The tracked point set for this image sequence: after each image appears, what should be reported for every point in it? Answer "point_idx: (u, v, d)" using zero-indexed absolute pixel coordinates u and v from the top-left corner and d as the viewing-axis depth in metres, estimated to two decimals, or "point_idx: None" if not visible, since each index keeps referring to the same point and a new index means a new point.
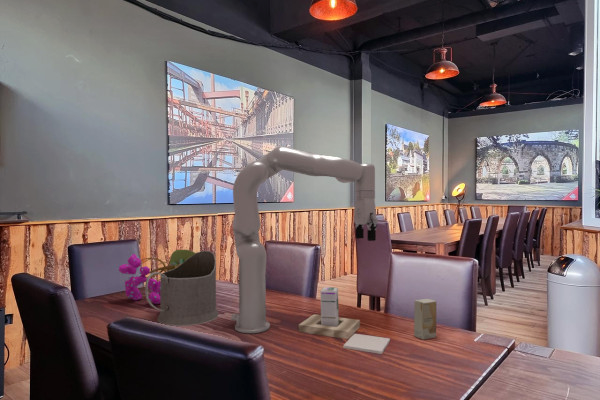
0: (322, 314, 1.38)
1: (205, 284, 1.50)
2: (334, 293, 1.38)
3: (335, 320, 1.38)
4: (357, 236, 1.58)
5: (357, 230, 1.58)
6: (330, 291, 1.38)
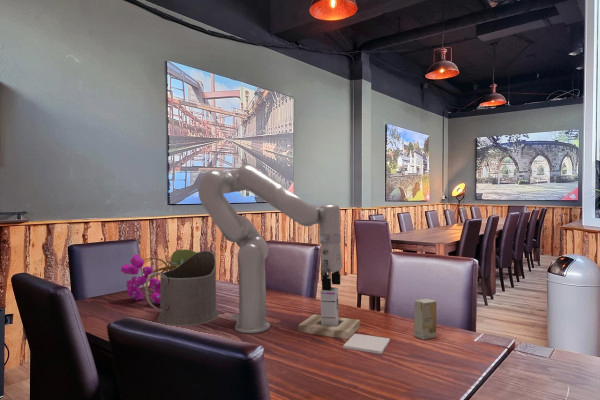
0: (322, 314, 1.38)
1: (205, 284, 1.50)
2: (334, 293, 1.38)
3: (335, 320, 1.38)
4: None
5: None
6: (330, 291, 1.38)
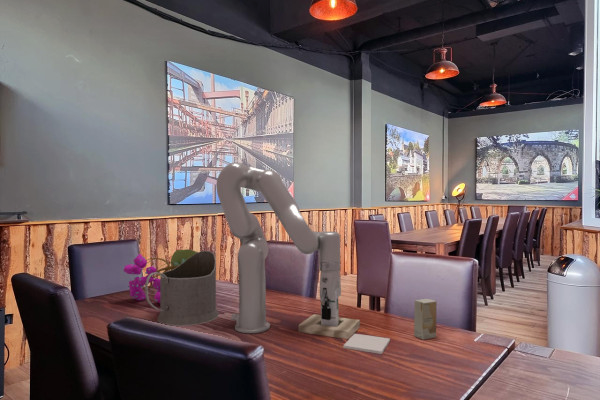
0: None
1: (205, 284, 1.50)
2: None
3: (335, 320, 1.38)
4: None
5: None
6: None
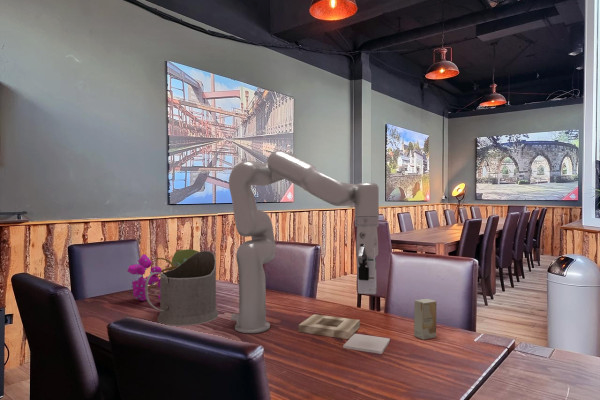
0: None
1: (205, 284, 1.50)
2: None
3: (374, 281, 1.23)
4: None
5: None
6: None
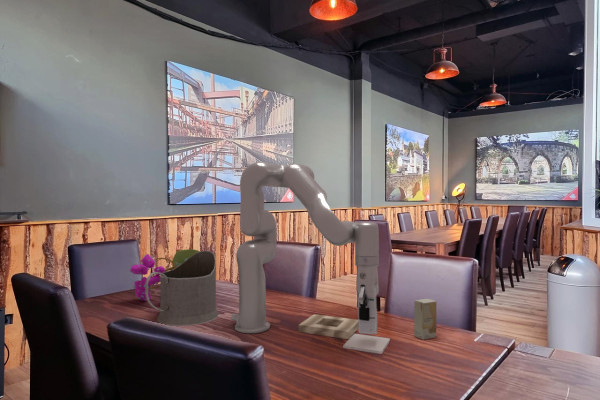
0: None
1: (205, 284, 1.50)
2: None
3: (374, 321, 1.23)
4: None
5: None
6: None
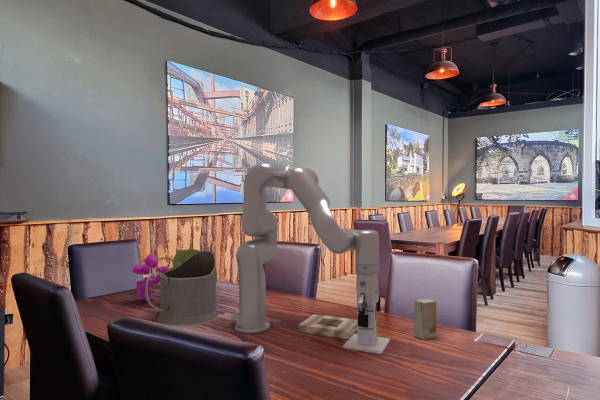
0: None
1: (205, 284, 1.50)
2: None
3: (373, 332, 1.23)
4: None
5: None
6: None
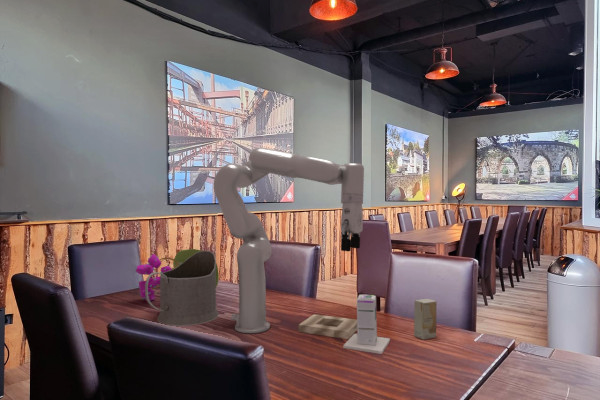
0: (359, 325, 1.24)
1: (205, 284, 1.50)
2: (372, 301, 1.23)
3: (373, 332, 1.23)
4: None
5: None
6: (368, 299, 1.23)
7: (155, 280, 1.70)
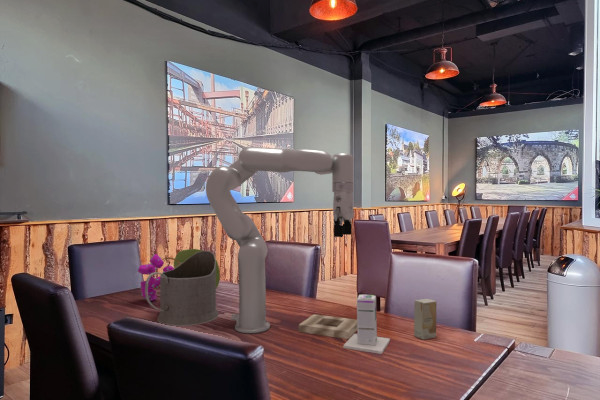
0: (359, 325, 1.24)
1: (205, 284, 1.50)
2: (372, 301, 1.23)
3: (373, 332, 1.23)
4: None
5: None
6: (368, 299, 1.23)
7: (158, 280, 1.70)
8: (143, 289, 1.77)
